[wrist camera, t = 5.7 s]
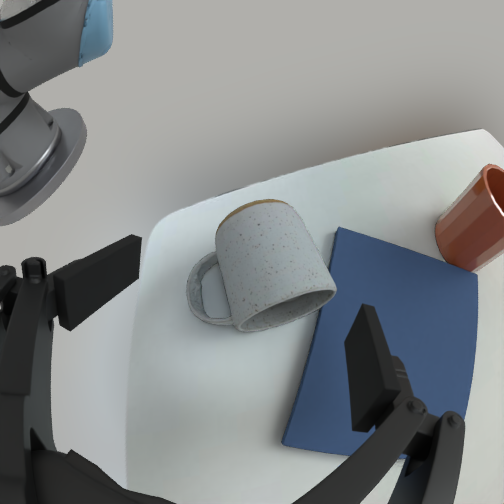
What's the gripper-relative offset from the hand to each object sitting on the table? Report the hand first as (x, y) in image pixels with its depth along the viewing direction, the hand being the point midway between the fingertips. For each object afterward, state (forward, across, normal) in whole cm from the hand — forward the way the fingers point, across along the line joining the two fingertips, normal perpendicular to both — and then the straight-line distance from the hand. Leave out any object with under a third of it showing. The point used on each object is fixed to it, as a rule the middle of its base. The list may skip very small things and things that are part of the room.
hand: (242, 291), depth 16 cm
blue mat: (+7, +15, -5) cm, 17 cm away
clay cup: (+17, +22, +5) cm, 28 cm away
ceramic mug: (+8, 0, -4) cm, 9 cm away
